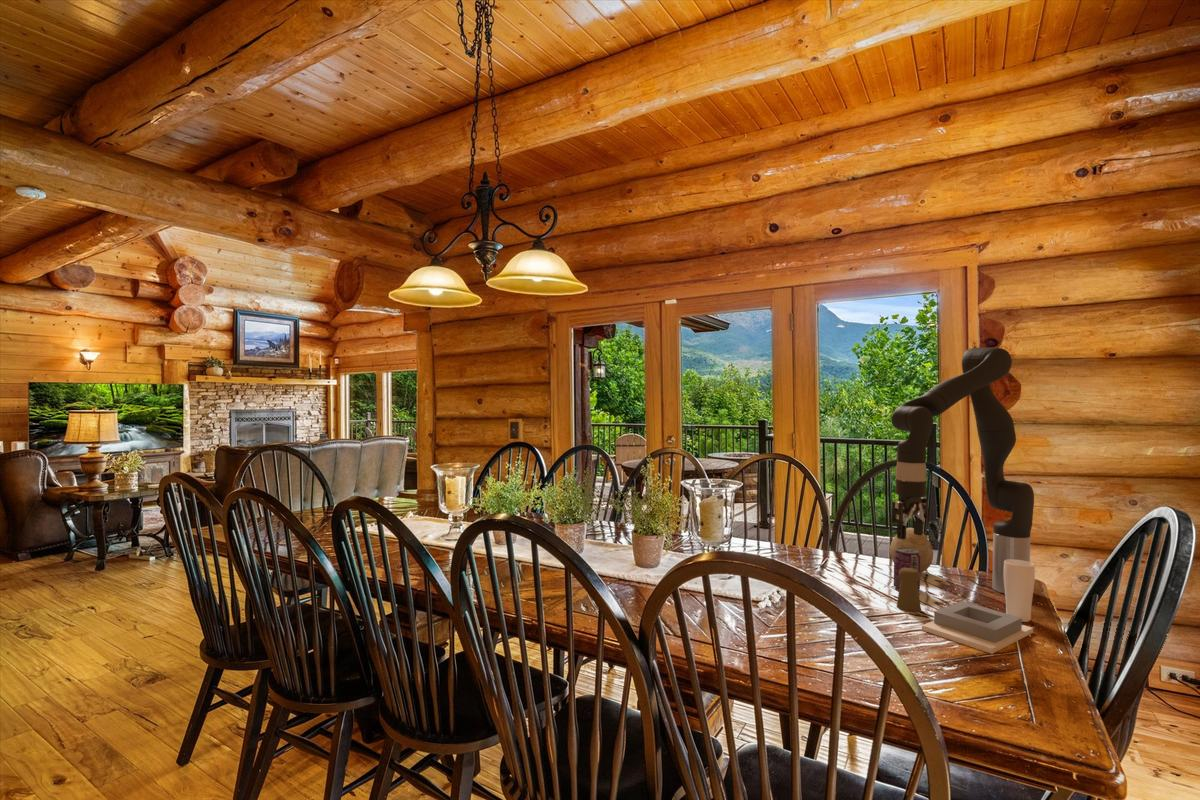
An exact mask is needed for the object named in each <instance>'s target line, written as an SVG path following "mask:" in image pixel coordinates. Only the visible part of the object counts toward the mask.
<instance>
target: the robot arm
mask: <svg viewBox="0 0 1200 800" xmlns="http://www.w3.org/2000/svg"><path fill="white" fill-rule="evenodd" d="M1012 363H1013V361H1012V356H1011V354H1010V352H1009V351H1008V350H1006V349H1005V348H1001V347H972V348H971V347H970V348H968V349H967V350H965V351H964V353H963V355H962V358H961V369H962V370H961V371H962V373H961V374H959V375H956V376H954V377H951V378H948V379H946V380H944V381H941V382H939V383H938V384H936V385H934V386H933V387H931V388H930V389H929V390H928V391H926V392H924V393H923V394H922V395H920V396H918V397H916V398H913V399H910V400H909V401H906V402H904V403H902V404H901V405H899V406H898V407H897V408H895V410H894V411H893V412H892V414H891V418H890V420H891V424H892V426H893V427H894V428H895V429H896V430H898V431H901V432H909V435H908V438H907V439H904V440H900V441H898V443H897V446H896V447H897V448H896V449H897V450H896V453H897V454H896V467H895V494H896V495H897V496H899V501H898V500H893V501H892V507H891V523H893V524H895V525H896V535H897V538H899V539H906V528H907V523H908V522H909V521H908V520H911V518H913V528H914V534H916V535H923V534H924V522H925V521H926V519H927V520H928V519H929V498H928V497H926V496H927V474H928V473H927V465H926V464H927V463H926V458H927V456H926V455H927V453H926V452H927V445H928V443H929V440H930V436H931V434H932V433H931V432H932V430H933V427H934V417H938V416H940V415H942V414H943V413H945V412H946V411H947V410H949V409H950V408H951V407H953V406H954V405H955V404H956V403H959V402H960V401H961V400H963V399H965V398H966V397H968V396H969V397H970V400H971V404H972V408H973V413H974V418H975V424H976V431H977V436H978V437H977V438H978V441H979V444H980V449H981V450H980V451H981V453H982V461H983V467H984V468H983V469H984V477H985V489H986V491H985V492H986V497H987V498H986V499H987V501H988V503H989V506H990V507H991V508H993V509H995V510H999V511H1003V512H1010V513H1011V515H1012V516H1011V518H1010V519H1008V520H1003V521H996V522H994V524H993V529H992V532H993V533H992V576H991V577H992V579H991V581H992V585H991V586H992V590H994V591H996V592H999V593H1001V594H1004V595H1005V588H1004V574H1003V571H1004V560H1008V559H1014V560H1022V561H1027V562H1030V563H1031V531H1032V528H1033V519H1034V508H1035V507H1034V505H1035V493H1034V492H1035V491H1034V489H1033V487H1032V486H1031V485H1030V484H1029V483H1026V482H1022V481H1021V482H1020V481H1013V480H1006V478H1005V475H1004V467H1005V466H1004V465H1005V463H1006V462H1007V461H1006V460H1007V459H1008V457H1009V455H1010V454H1011V452H1012V451H1013V450H1014V447H1015V445H1016V442H1017V436H1016V430H1015V429H1016V428H1015V423H1014V419H1013V417H1012V415H1011V414H1010V412H1009V411H1008V410H1007V408H1006V407H1005V406H1004V405H1003V404H1002V402H1000V400H999V398H997V397H996V395H995V393H994V392H993V390H992V387H991V385H990V384H992V383H995V382H996V381H999V380H1001V379H1002V378H1004V377H1005V376H1007V374H1008V373H1009V372H1010V370H1011V368H1012Z"/></svg>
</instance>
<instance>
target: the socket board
mask: <svg viewBox="0 0 1200 800" xmlns="http://www.w3.org/2000/svg"><path fill="white" fill-rule="evenodd" d="M933 612H934V613H933V614H934V615H933V620H932V621H929V622H927V623H924V624H922V625H921V631H924V632H926V633H928V634H929V633H930V634H933V635H935V636H938V637H941V638H944V639H947V640H949V641H953V642H956V643H959V644H961V645H964V646H967V647H971V648H973V649H977V650H980V651H981V652H986V653H988V654H990V655H992V654H994V653H996V652H998V651H1000V650H1002V649H1004V648H1006V647H1008V646H1010V645H1011V644H1014V643H1016V642H1018V641H1019V640H1022V639H1023V638H1025V637H1028V636H1030V635H1032V634H1033V633H1034V627H1031V626H1028V625H1024V624H1022V623H1023V622H1022V618H1020V617H1016V616H1013V615H1009V614H1006V612H1001V611H998V610H995V609H991V608H989V607H988V608H987V607H984V606H981V605H979V604H978V605H977V604H974V603H970V602H967V601H964V600H961V601H959V602H955V603H953V604H950V605H947V606H945V607H943V608H940V609H938V610H934V611H933Z"/></svg>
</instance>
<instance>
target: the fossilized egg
mask: <svg viewBox="0 0 1200 800" xmlns="http://www.w3.org/2000/svg"><path fill="white" fill-rule="evenodd" d="M929 540H930V539H928V537H927V536H926V534H924V533H923V535H916V534H914V527H906V539H899V538H897V534H896V535H895V536H894V537H893V539H892V540H891V543H890V547H889V555H890V558H891V560H892V562H893V563H894V554H895V552H896V548H900V547H904V548H912V549H915V550H918V551H919V553H918V554H919V556H920V574H921V573H924V572H925V571H927V570H928V569H929V568H930V566H931V565H932V562H933V560H934V550H933V546H932V544H931V542H930V541H929Z"/></svg>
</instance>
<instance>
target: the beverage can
mask: <svg viewBox="0 0 1200 800" xmlns="http://www.w3.org/2000/svg"><path fill="white" fill-rule="evenodd" d="M918 553H919V551H918V550H915V549H912V548H904V547H900V548H896V552H895V554H894V562H893V587H895V588H897V589H898V590H899V588H900V582H901V579H900V578H899V571H900V569H902V568H912V569H915V570H917V571H918V572H919V574H920V575H921V573H920V556H919V554H918ZM920 589H921V578H920V579H919V581H918V590H920Z"/></svg>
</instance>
